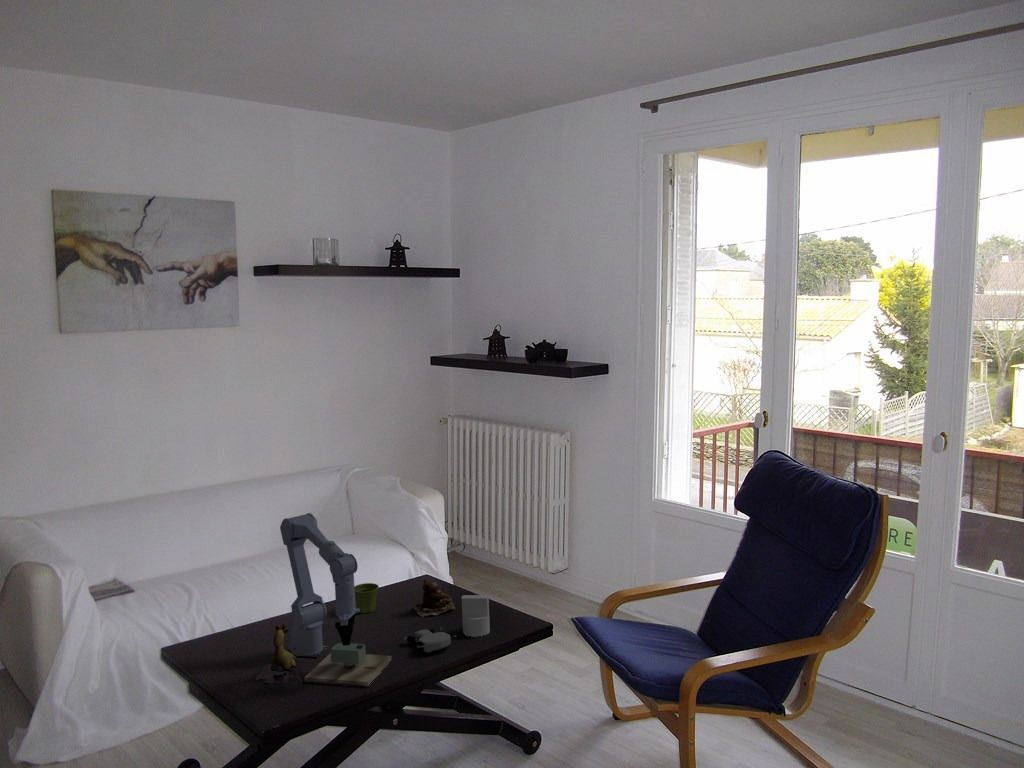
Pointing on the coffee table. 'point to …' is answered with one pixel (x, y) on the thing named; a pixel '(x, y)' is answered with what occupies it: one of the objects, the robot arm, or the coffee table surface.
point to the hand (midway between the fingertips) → (347, 639)
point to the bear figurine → (433, 601)
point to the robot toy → (430, 640)
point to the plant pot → (366, 597)
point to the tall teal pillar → (348, 653)
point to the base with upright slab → (475, 615)
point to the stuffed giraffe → (281, 652)
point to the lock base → (349, 670)
